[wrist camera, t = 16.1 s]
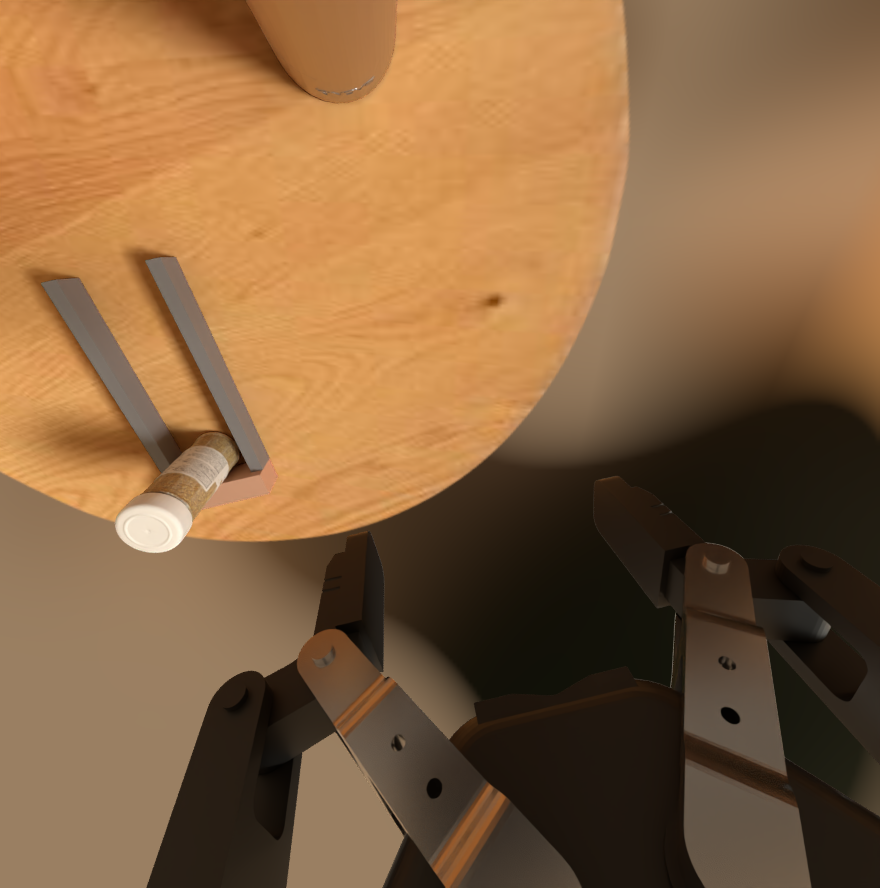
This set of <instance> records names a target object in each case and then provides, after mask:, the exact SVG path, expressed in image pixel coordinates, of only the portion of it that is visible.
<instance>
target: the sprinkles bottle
mask: <svg viewBox="0 0 880 888" xmlns="http://www.w3.org/2000/svg"><path fill="white" fill-rule="evenodd" d="M239 458H240V451H239V448H238V445H237V444H236V442H235V441H234V440H233V439H231V438H230V437H229V436H227V435H225V434H222V433H220V432H208V433H204V434H202V435H201V436H199V437H198V438H197V439H196V440H195V442H194V444H193V445H192V446H191V447H190V448H189V449H187V450H185V451H184V452H183V453H182V454H181V455H180V456H179V457H178V458H177V459H176V460H175V461H174V462H173V463H172V464H171V465H170V466H169V467H168V468H167V469H166V470H165V471H164V472H163V473H161V474H160V475H159V476H158V477H157V478H156V479H155V481H154V482H153V483H152V484H151V485H150V486H149V487H148V488H147V489H146V490H145V491H144V492H143V493H142V494H140V495H139V496H137V497H135V498H133V499H132V500H131V501H130V502H129V503H128V504H127V505H126V506H125V507H124V508H123V509H122V510H121V511H120V512H119V514H118V515H117V517H116V520H115V529H116V532H117V534H118V535H119V537H120V538H121V539H122V540H123V541H124V542H125V543H126V544H128V545H129V546H131V547H133V548H135V549H137V550H140V551H144V552H150V553H159V552H165V551H168V550H171V549H173V548H174V547H176V546H177V545H178V544H179V543H180V542H181V541H182V539H183V538H184V537H185V535H186V534H187V533H188V531H189V530H190V528H191V526H192V522H193V520H194V519H195V517H196V516H197V515H198V513H199V512H200V511H201V509H202V508H203V507H204V506H205V504H206V503H207V502H208V501H209V500H210V498H211V497H212V495H213V494H214V493H215V492H216V490H217V489H218V488H219V486H220V485H221V484H222V482H223V481H224V479H225V478H226V477H227V475H228V473H229V471H230V470H231V469H232V467H234V466H235V465H236V464H237V462H238V460H239Z"/></svg>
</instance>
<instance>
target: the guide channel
mask: <svg viewBox="0 0 880 888" xmlns="http://www.w3.org/2000/svg"><path fill="white" fill-rule="evenodd" d="M145 262H146V264H147V266H148V268H149V270H150V272H151V274H152V276H153V278H154V280H155V282H156V284H157V286H158V288H159V290H160V292H161V294H162V296H163V298H164V300H165V302H166V304H167V306H168V308H169V310H170V312H171V314H172V316H173V318H174V320H175V322H176V324H177V326H178V328H179V330H180V332H181V334H182V336H183V338H184V340H185V342H186V343H187V345H188V347H189V349H190V351H191V353H192V355H193V357H194V359H195V361H196V363H197V365H198V367H199V369H200V371H201V373H202V375H203V377H204V379H205V381H206V383H207V385H208V387H209V389H210V391H211V393H212V395H213V397H214V399H215V401H216V403H217V405H218V407H219V409H220V411H221V413H222V415H223V417H224V419H225V421H226V423H227V425H228V427H229V429H230V431H231V433H232V435H233V437H234V439H235V441H236V443H237V445H238V447H239V449H240V451H241V453H242V455H243V457H244V459H245V461H246V463H247V464H242V465H238V466H234V467H232V469H231V470H230V471H229V473H228V475H227V477H226V478H225V479H224V481H223V482H222V484H221V485H220V486H219V488H218V489H217V490H216V492H215V493H214V494H213V495H212V497H211V498H210V500H209V501H208V502H207V503H206V504H205V506H204V507H203V508H202V509H201V510H203V509H207V508H211V507H216V506H220V505H224V504H228V503H233V502H237V501H241V500H246V499H250V498H254V497H259V496H263V495H267V494H270V492H271V490H272V488H273V486H274V484H275V482H276V480H277V478H278V475H277V473H276V471H275V469H274V467H273V465H272V462H271V460H270V458H269V456H268V454H267V452H266V450H265V447H264V445H263V443H262V441H261V439H260V437H259V435H258V432H257V430H256V428H255V426H254V424H253V422H252V420H251V417H250V415H249V413H248V411H247V409H246V407H245V405H244V402H243V400H242V398H241V396H240V394H239V392H238V390H237V387H236V385H235V383H234V381H233V379H232V377H231V375H230V372H229V370H228V368H227V366H226V364H225V362H224V360H223V357H222V355H221V353H220V351H219V349H218V347H217V345H216V342H215V340H214V338H213V336H212V334H211V332H210V330H209V327H208V325H207V323H206V321H205V319H204V317H203V315H202V312H201V310H200V308H199V306H198V304H197V302H196V300H195V297H194V295H193V293H192V291H191V289H190V287H189V285H188V282H187V280H186V278H185V276H184V274H183V272H182V270H181V267H180V265H179V263H178V261H177V259H176V257H159V258H154V259H149V260H145ZM41 285H42V286H43V288H44V289H45V291H46V292H47V294H48V296H49V297H50V299H51V300H52V302H53V303H54V305H55V307H56V308H57V310H58V311H59V313H60V314H61V316H62V318H63V319H64V321H65V322H66V324H67V325H68V327H69V329H70V330H71V332H72V333H73V335H74V336H75V338H76V340H77V341H78V343H79V344H80V346H81V348H82V349H83V351H84V352H85V354H86V355H87V357H88V359H89V360H90V362H91V363H92V365H93V366H94V368H95V370H96V371H97V373H98V374H99V376H100V377H101V379H102V381H103V382H104V384H105V385H106V387H107V388H108V390H109V392H110V393H111V395H112V396H113V398H114V399H115V401H116V403H117V404H118V406H119V407H120V409H121V410H122V412H123V414H124V415H125V417H126V418H127V420H128V421H129V423H130V425H131V426H132V428H133V429H134V431H135V433H136V434H137V436H138V437H139V439H140V440H141V442H142V444H143V445H144V447H145V448H146V450H147V451H148V453H149V455H150V456H151V458H152V459H153V461H154V462H155V464H156V466H157V467H158V469H159V470H160V472H161V473H163V472H164V471H165V470H166V469H167V468H168V467H169V466H170V465H171V464H172V463H173V462H174V461H175V460H176V459H177V458H178V457H179V456H180V455H181V454H182V452H181V451H180V449H179V447H178V446H177V444H176V442H175V440H174V439H173V437H172V435H171V434H170V432H169V430H168V429H167V427H166V425H165V423H164V422H163V420H162V418H161V417H160V415H159V413H158V411H157V410H156V408H155V406H154V405H153V403H152V401H151V400H150V398H149V396H148V394H147V393H146V391H145V389H144V388H143V386H142V384H141V383H140V381H139V379H138V377H137V376H136V374H135V372H134V371H133V369H132V367H131V366H130V364H129V362H128V360H127V359H126V357H125V355H124V354H123V352H122V350H121V349H120V347H119V345H118V343H117V342H116V340H115V338H114V337H113V335H112V333H111V332H110V330H109V328H108V326H107V325H106V323H105V321H104V320H103V318H102V316H101V315H100V313H99V311H98V309H97V308H96V306H95V304H94V303H93V301H92V299H91V298H90V296H89V294H88V292H87V291H86V289H85V287H84V286H83V284H82V282H81V280H80V279H79V278H71V279H57V280H52V281H47V282H42V283H41Z"/></svg>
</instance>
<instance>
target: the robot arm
mask: <svg viewBox="0 0 880 888" xmlns="http://www.w3.org/2000/svg"><path fill="white" fill-rule="evenodd" d="M245 1H246V2H247V4H248V6H249V8H250V10H251V11H252V13H253V15H254V17H255V19H256V21H257V22H258V24H259V26H260V28H261V30H262V32H263V34H264V35H265V37H266V39H267V41H268V43H269V44H270V46H271V48H272V50H273V52H274V53H275V55H276V57H277V59H278V60H279V62H280V63H281V65H282V66H283V68H284V69H285V71H286V72H287V74H288V75H289V76H290V77H291V78H292V79H293V80H294V81H295V82H296V83H297V84H298V85H299V86H300V87H301V88H303V89H304V90H305V91H307V92H308V93H309V94H311V95H313V96H315V97H317V98H319V99H321V100H324V101H328V102H333V103H349V102H352V101H355V100H358V99H361V98H363V97H364V96H366V95H367V94H368V93H370V92H371V91H373V89H374V88H375V87H376V86H377V85H378V84H379V82H380V81H381V80H382V78H383V76H384V75H385V73H386V71H387V69H388V67H389V64H390V61H391V58H392V54H393V51H394V43H395V35H396V15H397V0H245ZM594 521H595V524H596V527H597V529H598V531H599V532H600V534H601V535H602V536H603V538H604V539H605V540H606V542H607V543H608V544H609V545H610V547H611V548H612V550H613V551H614V552H615V554H616V555H617V556H618V558H619V559H620V560H621V561H622V563H623V564H624V565H625V566H626V568H627V569H628V571H629V572H630V573H631V574H632V576H633V577H634V579H635V580H636V581H637V582H638V584H639V585H640V587H641V588H642V589H643V590H644V592H645V593H646V594H647V596H648V597H649V598H650V599H651V601H652V602H653V604H654V605H655V606H656V608H660V607H664V606H669V605H671V606H672V607H673V608H674V609H675V611H676V616H675V628H674V649H673V667H672V679H671V688H669V687H667V686H664V685H661V684H658V683H655V682H651V681H646V680H640V679H634V678H633V676H632V675H631V673H630V671H629V669H628V668H627V666H626V667H622V668H618V669H613V670H609V671H605V672H601V673H597V674H593V675H589V676H587V677H586V678H584V679H582V680H581V681H579V682H577V683H576V684H574V685H572V686H571V687H569V688H567V689H566V690H564V691H562V692H560V693H559V694H557V695H551V696H550V695H549V696H548V695H526V694H509V695H505V696H501V697H497V698H493V699H488V700H484V701H480V702H476V703H474V706H475V711H476V716H475V717H473V718H472V719H470V720H469V721H467V722H466V723H465V724H463V725H462V726H461V727H460V728H459V729H458V730H457V731H456V732H455V733H454V734H453V736H452V737H451V738H450V739H449V740H448V738H447V737H446V736H445V735H444V734H443V733H442V732H441V731H440V730H439V729H438V728H437V726H435V724H434V723H433V722H432V721H431V720H430V719H429V718H428V717H427V716H426V715H425V713H424V712H423V711H422V710H421V709H420V708H419V707H418V706H417V705H416V704H415V703H414V702H413V701H412V699H411V698H410V697H409V696H408V695H407V694H406V693H405V692H404V691H403V690H402V688H401V687H400V686H399V685H398V684H397V683H396V682H395V681H394V680H393V679H392V678H390V677H387V678H385V677H384V676H383V675H382V674H381V673H380V672H383V657H384V653H383V652H384V573H383V568H382V564H381V560H380V558H379V555H378V552H377V549H376V546H375V543H374V540H373V537H372V535H371V533H370V531H367V532H363V533H358V534H353V535H349V536H348V537H347V542H346V549H345V552H342V553H338V554H335V555H334V556H333V558H332V560H331V561H330V563H329V564H328V566H327V569H326V574H325V579H324V580H325V582H324V584H323V590H322V591H323V593H322V595H321V600H320V605H319V610H318V616H317V621H316V627H315V631H314V635H313V637H311V638H310V639H309V640H308V641H307V642H306V643H305V645H304V646H303V647H302V649H301V651H300V653H299V655H298V658H297V659H296V660H295V661H294V662H292V663H291V664H289V665H287V666H285V667H284V668H282V669H280V670H278V671H276V672H274V673H273V674H271V675H269V676H267V677H265V678H264V677H263V676H262V675H261V674H260V673H258V672H256V671H247V672H243V673H240V674H238V675H236V676H234V677H233V678H231V679H229V680H228V681H227V682H226V683H225V684H224V685H223V686H221V687H220V689H219V690H218V691H217V692H216V694H215V695H214V696H213V698H212V700H211V702H210V704H209V706H208V709H207V712H206V715H205V717H204V721H203V723H202V726H201V729H200V732H199V735H198V738H197V741H196V744H195V747H194V750H193V753H192V756H191V759H190V762H189V764H188V768H187V770H186V773H185V776H184V779H183V782H182V785H181V788H180V791H179V794H178V797H177V800H176V803H175V805H174V809H173V811H172V814H171V817H170V820H169V823H168V826H167V829H166V832H165V835H164V838H163V841H162V844H161V846H160V850H159V852H158V855H157V858H156V861H155V864H154V867H153V870H152V873H151V876H150V879H149V882H148V885H147V888H286V885H287V876H288V868H289V860H290V850H291V843H292V834H293V826H294V817H295V810H296V801H297V793H298V784H299V776H300V768H301V767H300V766H301V759H302V752H304V751H305V750H307V749H308V748H310V747H311V746H313V745H314V744H316V743H318V742H319V741H321V740H322V739H324V738H326V737H327V736H329V735H331V734H332V733H334V732H335V733H336V734H337V736H338V737H339V739H340V740H341V742H342V743H343V745H344V747H345V748H346V750H347V751H348V752H349V754H350V756H351V757H352V758H353V760H354V761H355V763H356V764H357V766H358V768H359V769H360V771H361V772H362V773H363V775H364V777H365V778H366V780H367V781H368V783H369V784H370V786H371V787H372V789H373V790H374V792H375V794H376V795H377V797H378V799H379V800H380V802H381V803H382V805H383V806H384V808H385V809H386V811H387V812H388V814H389V816H390V817H391V819H392V820H393V822H394V823H395V825H396V826H397V828H398V829H399V831H400V832H401V834H402V835H403V837H404V839H403V841H402V844H401V846H400V848H399V851H398V853H397V855H396V858H395V860H394V862H393V864H392V867H391V869H390V871H389V874H388V876H387V878H386V881H385V883H384V885H383V888H880V817H879V816H878V815H876V814H874V813H873V812H871V811H869V810H868V809H866V808H865V807H863V806H862V805H860V804H858V803H857V802H855V801H854V800H852V799H850V798H849V797H847V796H846V795H844V794H842V793H841V792H839V791H838V790H836V789H834V788H832V787H831V786H830V785H828V784H826V783H825V782H823V781H821V780H820V779H818V778H817V777H815V776H813V775H812V774H810V773H809V772H807V771H805V770H804V769H802V768H801V767H799V766H797V765H795V764H794V763H793V762H791V761H789V760H788V759H786V758H785V757H784V752H783V746H782V739H781V733H780V727H779V719H778V713H777V706H776V700H775V693H774V687H773V680H772V674H771V667H770V661H769V655H768V647H767V641H766V639H767V640H768V641H769V642H770V643H771V645H772V646H773V647H774V648H775V649H776V650H777V651H778V652H779V653H780V655H781V656H782V657H783V658H784V659H785V660H786V661H787V662H788V663H789V665H790V666H791V667H792V668H793V669H794V670H795V671H796V672H797V673H798V675H799V676H800V677H801V678H802V679H803V680H804V681H805V682H806V683H807V685H809V687H810V688H811V689H812V690H813V691H814V692H815V693H816V694H817V696H818V697H819V698H820V699H821V700H822V701H823V702H824V703H825V704H826V706H828V708H829V709H830V710H831V711H832V712H833V713H834V714H835V716H836V717H837V718H838V719H839V720H840V721H841V722H842V723H843V724H844V725H845V727H846V728H847V729H848V730H849V731H850V732H851V733H852V734H853V735H854V736H855V738H856V739H857V740H858V741H859V742H860V743H861V744H862V745H863V747H864V748H865V749H866V750H867V751H868V752H869V753H870V754H871V755H872V756H873V758H874V759H875V760H876V761H877V762H878V763H879V764H880V587H879V586H878V585H877V584H875V583H874V582H873V581H871V580H870V579H869V578H867V577H866V576H864V575H863V574H862V573H860V572H859V571H858V570H856V569H855V568H853V567H852V566H851V565H849V564H848V563H847V562H845V561H844V560H842V559H841V558H839V557H838V556H836V555H834V554H832V553H830V552H828V551H825V550H823V549H819V548H816V547H812V546H806V545H792V546H788V547H785V548H784V549H782V551H781V552H780V555H779V558H778V560H767V559H744V558H742V557H741V556H740V555H739V554H738V553H736V552H735V551H733V550H731V549H729V548H727V547H724V546H722V545H717V544H712V543H706V542H704V541H703V540H702V539H701V538H700V537H699V536H698V535H697V534H696V533H695V532H694V531H692V530H691V529H690V528H689V527H688V526H687V525H686V524H685V523H684V522H683V521H682V520H680V519H679V518H678V517H677V516H676V515H675V514H672V511H671V510H669V509H668V508H667V507H666V506H664V505H663V503H662V502H661V501H659V500H658V499H657V498H656V497H655V496H654V495H653V494H651V493H650V492H647V491H645V490H643V489H641V488H639V487H633V488H631V487H630V486H629V485H628V484H627V483H625V481H624V480H623V479H622V478H621V477H619V476H614V477H610V478H605V479H601V480H597V481H595V483H594ZM830 627H832V628H833V629H835V630H836V631H837V632H838V633H839V634H840V635H841V636H842V637H844V639H846V640H847V641H848V642H849V643H850V644H851V645H852V646H853V647H854V648H855V649H857V650H858V652H859V653H860V654H861V655H862V657H863V658H864V659H863V658H862V657H861V656H860V655H858V654H857V653H856V652H855V651H854V650H853V649H852V648H851V647H850V646H849V645H847V644H846V643H845V642H844V641H843V640H842V639H841V638H840V637H839V636H838V635H837V634H836V633H834V632H833V631H832V630H831V629H830Z"/></svg>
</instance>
